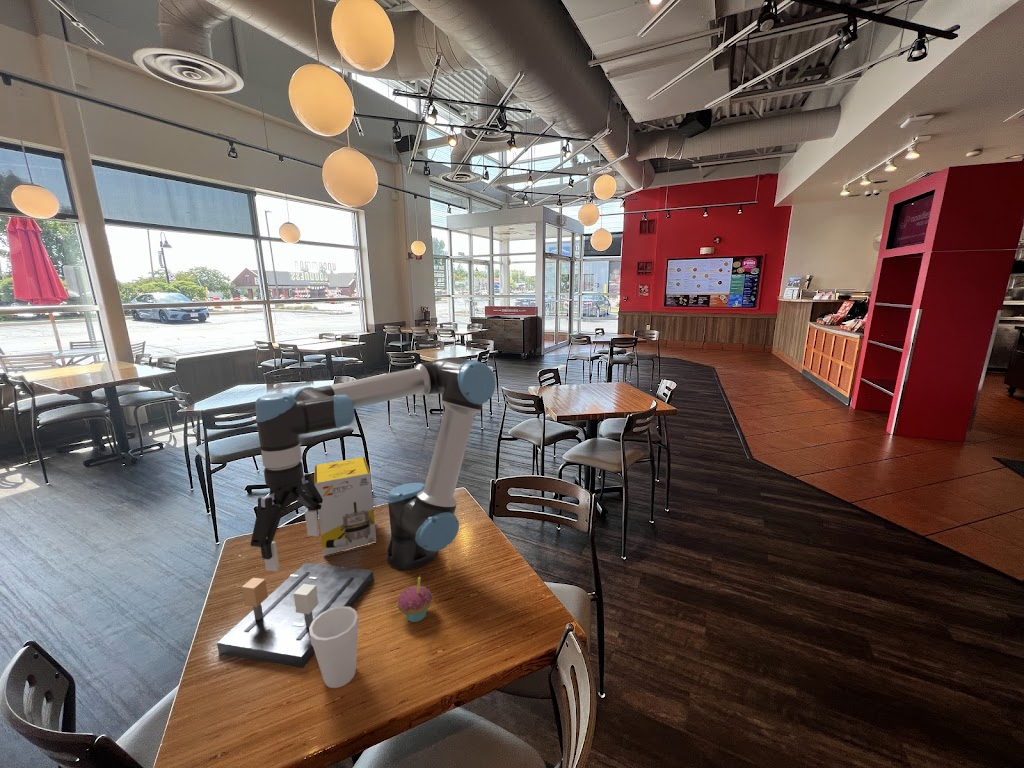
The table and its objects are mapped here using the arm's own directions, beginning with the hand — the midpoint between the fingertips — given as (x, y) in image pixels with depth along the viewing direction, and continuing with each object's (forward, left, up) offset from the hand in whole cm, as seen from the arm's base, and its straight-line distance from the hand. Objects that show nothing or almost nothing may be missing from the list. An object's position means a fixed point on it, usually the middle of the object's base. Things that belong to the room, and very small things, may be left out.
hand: (294, 551), depth 95 cm
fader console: (+6, -7, -23) cm, 25 cm away
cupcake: (-23, -11, -23) cm, 35 cm away
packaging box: (+15, -41, -23) cm, 49 cm away
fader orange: (+13, 0, -19) cm, 23 cm away
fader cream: (-1, 0, -20) cm, 20 cm away
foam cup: (-14, +8, -23) cm, 28 cm away
